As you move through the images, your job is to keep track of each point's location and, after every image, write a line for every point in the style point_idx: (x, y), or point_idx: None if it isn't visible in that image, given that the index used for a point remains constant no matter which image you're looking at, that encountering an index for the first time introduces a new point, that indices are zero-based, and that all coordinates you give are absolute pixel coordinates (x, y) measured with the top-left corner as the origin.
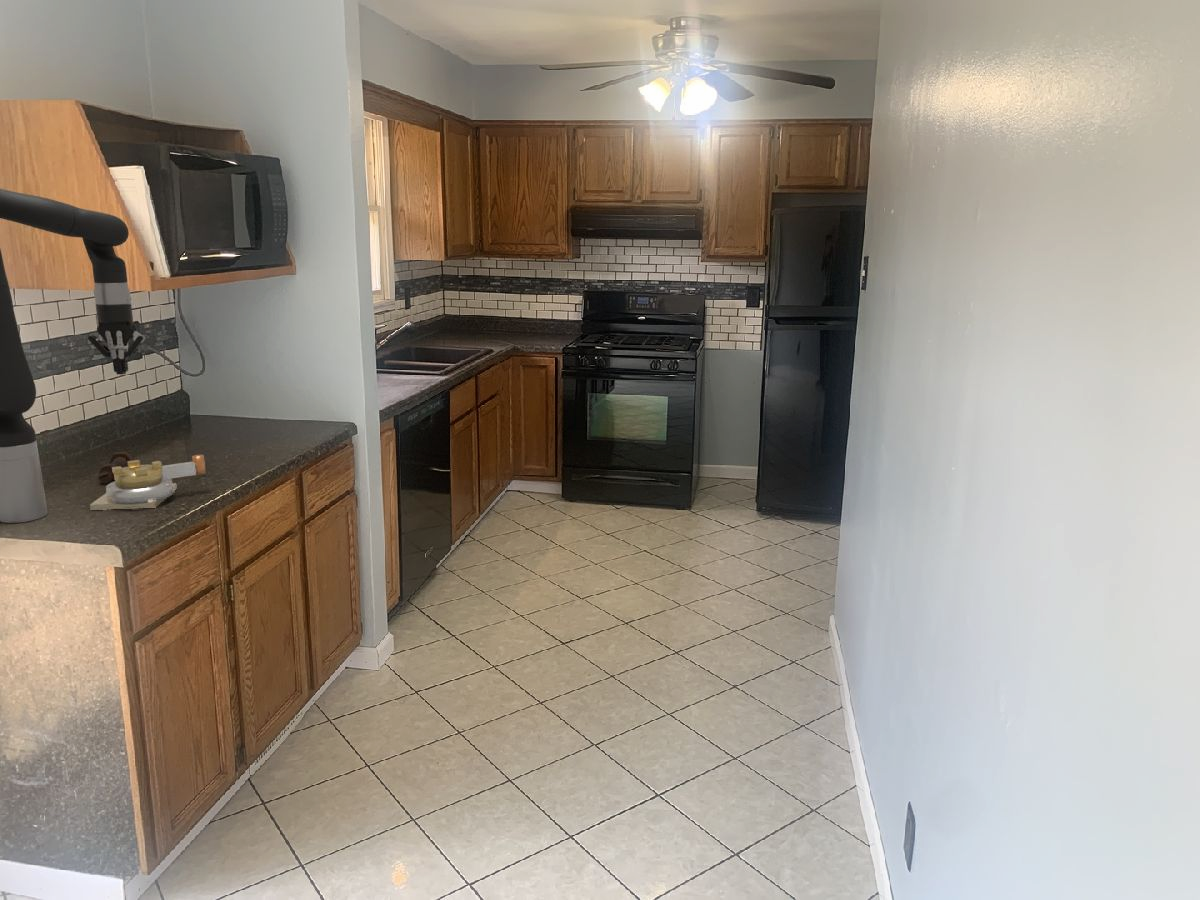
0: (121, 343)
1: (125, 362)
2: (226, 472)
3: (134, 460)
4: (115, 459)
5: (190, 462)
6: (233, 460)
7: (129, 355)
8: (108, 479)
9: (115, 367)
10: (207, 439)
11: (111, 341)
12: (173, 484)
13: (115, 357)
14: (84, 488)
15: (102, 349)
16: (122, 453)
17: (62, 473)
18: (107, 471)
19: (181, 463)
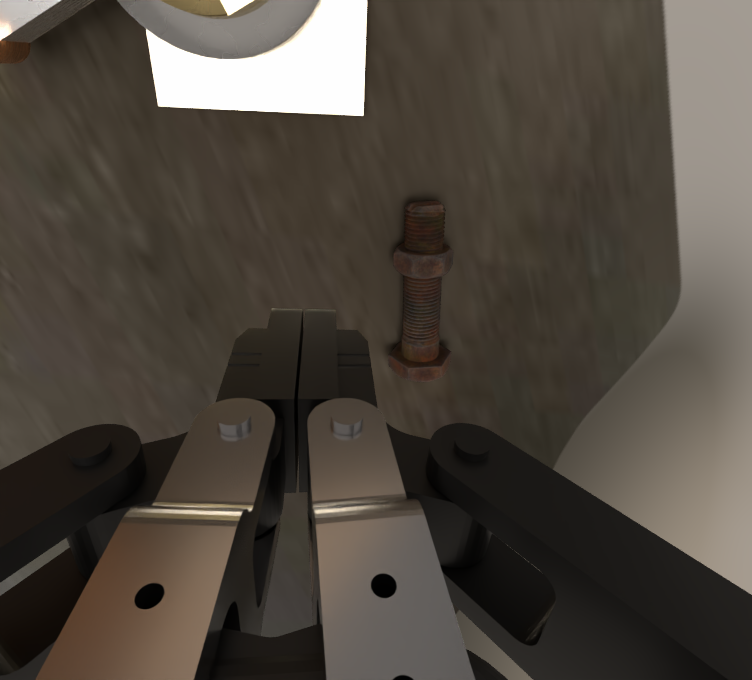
0: (99, 627)
1: (220, 397)
2: (95, 294)
3: (242, 6)
4: (430, 342)
5: (2, 20)
6: (141, 412)
7: (92, 436)
8: (412, 202)
9: (348, 358)
10: (297, 575)
11: (358, 671)
12: (161, 89)
13: (323, 412)
14: (472, 165)
15: (537, 507)
16: (417, 368)
17: (562, 332)
18: (420, 219)
19: (36, 4)
